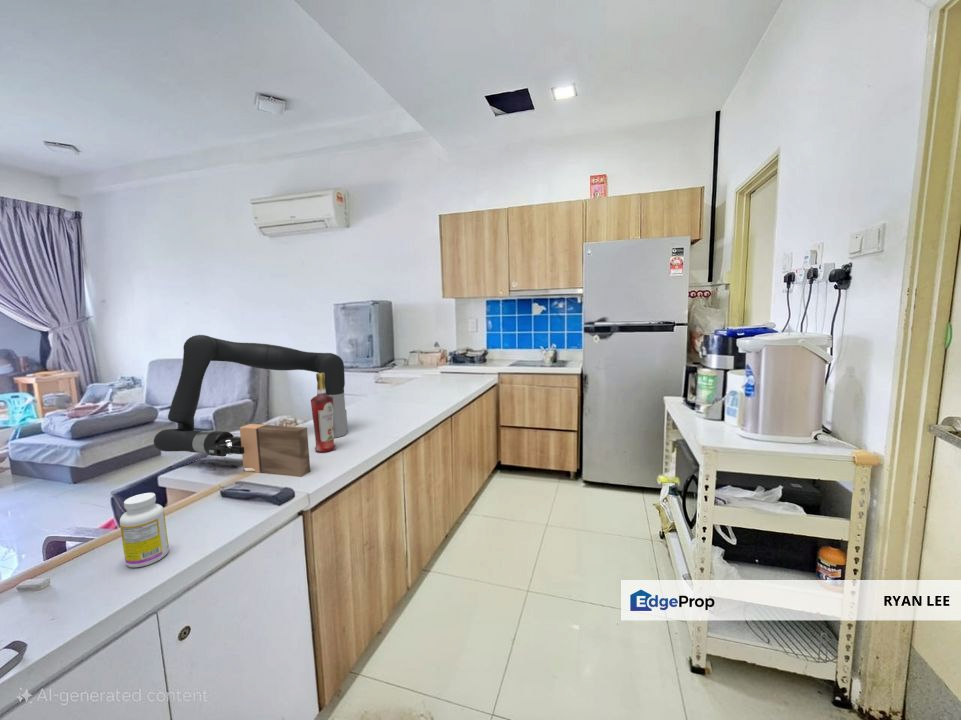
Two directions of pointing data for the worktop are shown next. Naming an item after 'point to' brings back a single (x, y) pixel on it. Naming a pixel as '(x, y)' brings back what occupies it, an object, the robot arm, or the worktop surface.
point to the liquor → (323, 417)
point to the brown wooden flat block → (283, 450)
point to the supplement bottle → (143, 530)
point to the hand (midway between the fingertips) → (254, 445)
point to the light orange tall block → (250, 446)
